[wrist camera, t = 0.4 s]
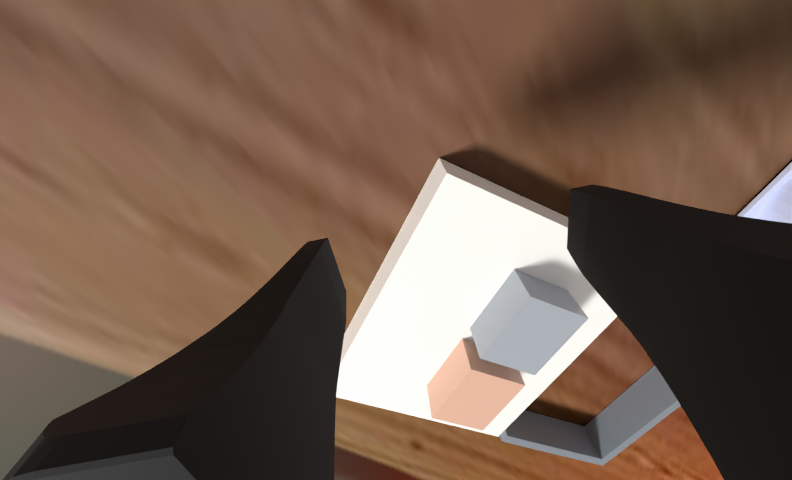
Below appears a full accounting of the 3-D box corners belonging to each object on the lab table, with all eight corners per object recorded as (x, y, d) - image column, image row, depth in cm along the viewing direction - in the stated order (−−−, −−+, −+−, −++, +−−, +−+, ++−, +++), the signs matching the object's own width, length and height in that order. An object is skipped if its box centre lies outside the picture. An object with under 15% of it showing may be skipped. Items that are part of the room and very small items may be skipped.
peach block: (512, 354, 25) (525, 385, 22) (474, 398, 27) (482, 430, 25) (461, 338, 24) (471, 369, 21) (426, 385, 26) (431, 417, 24)
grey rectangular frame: (740, 300, 27) (779, 328, 24) (585, 432, 34) (602, 465, 32) (634, 251, 24) (665, 277, 21) (490, 407, 32) (501, 441, 29)
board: (636, 248, 24) (662, 270, 22) (489, 408, 32) (498, 436, 30) (438, 157, 20) (446, 173, 18) (327, 365, 28) (323, 394, 26)
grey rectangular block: (567, 290, 22) (588, 318, 20) (520, 344, 24) (534, 375, 22) (514, 269, 21) (530, 296, 19) (470, 327, 23) (479, 358, 21)
